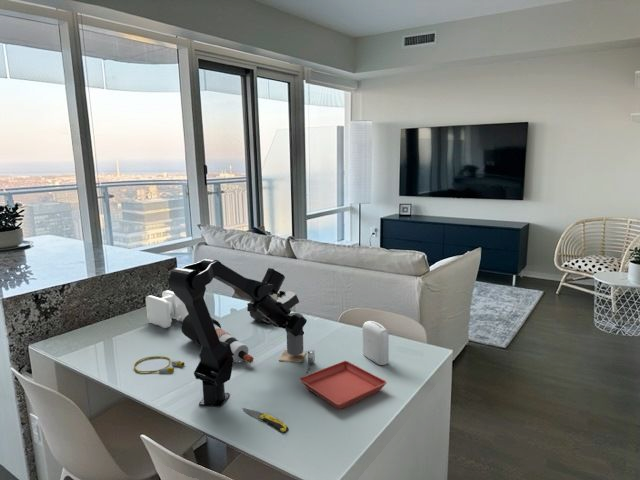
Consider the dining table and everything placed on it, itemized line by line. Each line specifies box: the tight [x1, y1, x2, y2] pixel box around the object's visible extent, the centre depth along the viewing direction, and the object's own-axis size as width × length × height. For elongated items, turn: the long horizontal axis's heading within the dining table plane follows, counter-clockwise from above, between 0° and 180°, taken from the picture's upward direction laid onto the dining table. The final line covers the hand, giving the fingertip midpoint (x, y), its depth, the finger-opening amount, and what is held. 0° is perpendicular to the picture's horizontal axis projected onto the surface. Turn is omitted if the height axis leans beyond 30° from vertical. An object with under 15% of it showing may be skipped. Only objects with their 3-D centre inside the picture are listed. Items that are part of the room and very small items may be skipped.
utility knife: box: [242, 407, 289, 434], centre depth 111 cm, size 16×1×3 cm
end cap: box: [249, 310, 271, 325], centre depth 178 cm, size 10×7×7 cm
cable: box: [180, 314, 254, 365], centre depth 150 cm, size 10×34×10 cm, turn 47°
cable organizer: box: [145, 289, 188, 329], centre depth 179 cm, size 15×11×12 cm
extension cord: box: [133, 355, 185, 375], centre depth 141 cm, size 12×16×2 cm
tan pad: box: [278, 349, 308, 363], centre depth 146 cm, size 8×8×1 cm
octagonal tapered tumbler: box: [286, 312, 304, 355], centre depth 144 cm, size 5×5×12 cm
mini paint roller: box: [305, 349, 316, 374], centre depth 138 cm, size 8×2×4 cm, turn 170°
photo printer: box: [362, 320, 390, 366], centre depth 142 cm, size 10×4×12 cm, turn 29°
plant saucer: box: [298, 360, 387, 410], centre depth 125 cm, size 18×18×3 cm
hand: (298, 331), depth 145 cm, fingers closed on octagonal tapered tumbler, 5 cm apart
